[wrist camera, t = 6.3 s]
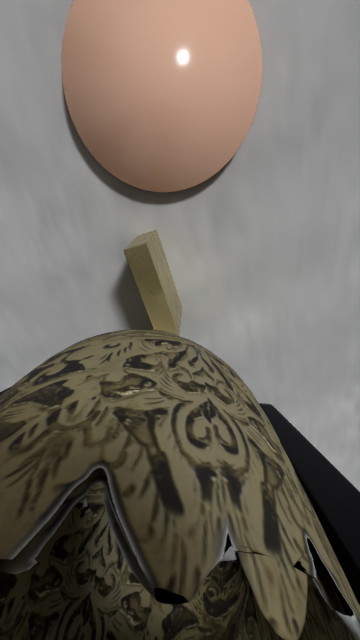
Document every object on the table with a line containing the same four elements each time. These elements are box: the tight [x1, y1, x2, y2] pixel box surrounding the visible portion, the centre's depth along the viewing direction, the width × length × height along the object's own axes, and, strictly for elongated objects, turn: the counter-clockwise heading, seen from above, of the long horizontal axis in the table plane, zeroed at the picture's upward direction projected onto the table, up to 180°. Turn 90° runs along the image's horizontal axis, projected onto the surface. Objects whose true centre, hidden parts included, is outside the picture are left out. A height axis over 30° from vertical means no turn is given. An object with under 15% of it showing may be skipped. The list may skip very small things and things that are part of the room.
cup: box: [0, 329, 360, 640], centre depth 7 cm, size 8×7×8 cm
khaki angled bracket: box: [123, 230, 182, 336], centre depth 15 cm, size 8×3×4 cm, turn 175°
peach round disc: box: [61, 0, 262, 192], centre depth 12 cm, size 8×8×1 cm
